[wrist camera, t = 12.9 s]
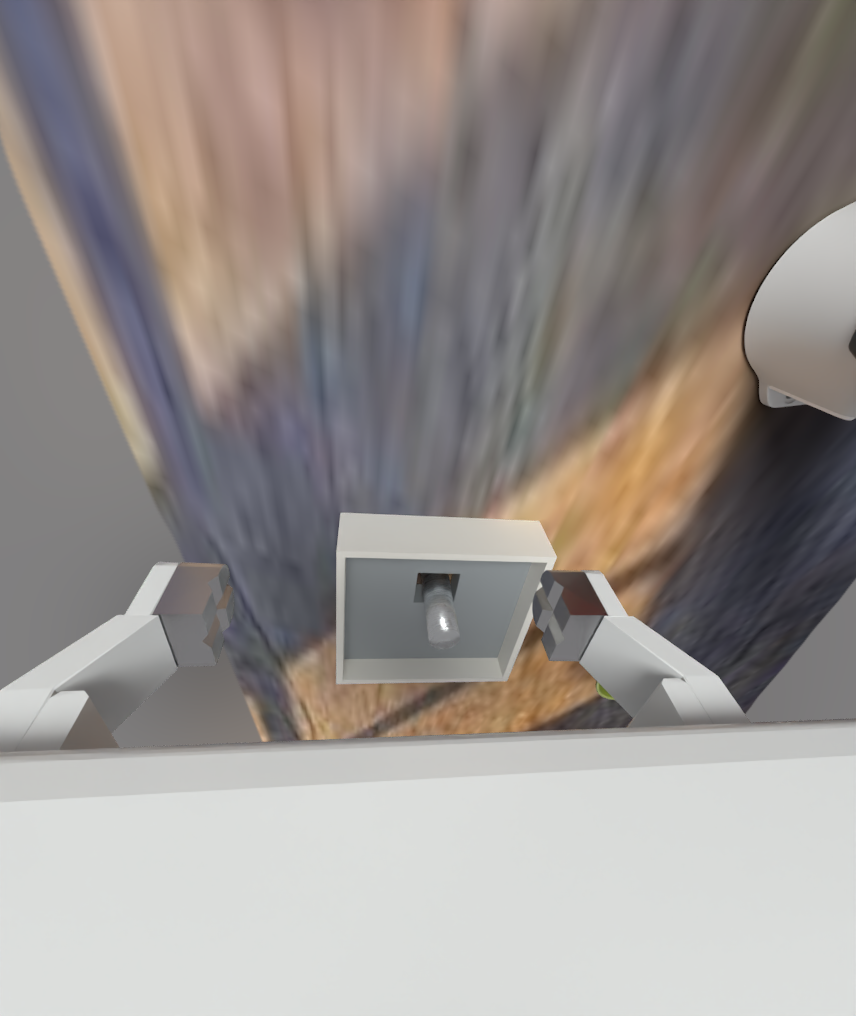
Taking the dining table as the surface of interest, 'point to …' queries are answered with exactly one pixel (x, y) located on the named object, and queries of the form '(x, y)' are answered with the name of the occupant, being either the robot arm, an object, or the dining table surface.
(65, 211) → the dining table surface
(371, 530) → the box
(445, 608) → the peg
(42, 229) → the dining table surface
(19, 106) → the dining table surface
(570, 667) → the dining table surface
